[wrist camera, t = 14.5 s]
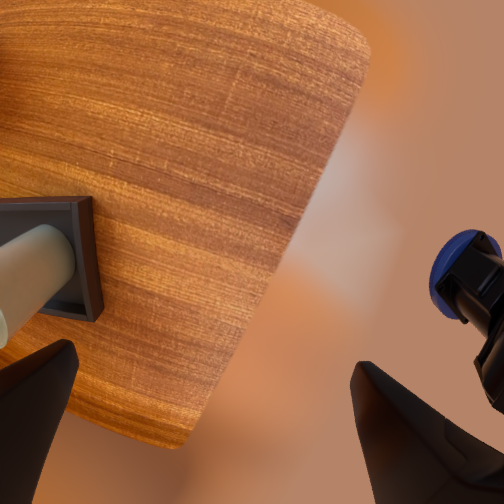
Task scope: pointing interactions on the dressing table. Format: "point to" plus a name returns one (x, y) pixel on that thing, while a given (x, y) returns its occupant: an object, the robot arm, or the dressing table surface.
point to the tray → (80, 237)
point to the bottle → (31, 275)
